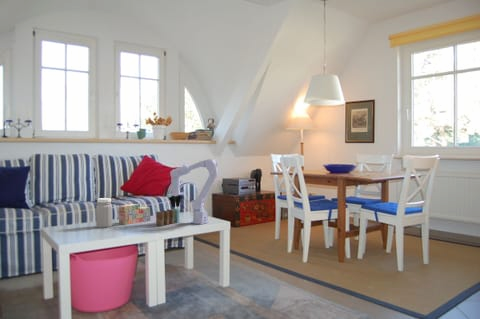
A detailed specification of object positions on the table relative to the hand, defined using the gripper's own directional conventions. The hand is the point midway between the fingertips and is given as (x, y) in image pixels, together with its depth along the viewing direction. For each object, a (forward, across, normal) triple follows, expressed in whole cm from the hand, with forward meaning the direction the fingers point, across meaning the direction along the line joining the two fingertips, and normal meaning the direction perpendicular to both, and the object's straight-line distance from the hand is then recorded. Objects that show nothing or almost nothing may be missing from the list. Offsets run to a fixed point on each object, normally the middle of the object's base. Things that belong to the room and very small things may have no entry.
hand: (175, 206), depth 264 cm
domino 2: (+10, +10, 0) cm, 14 cm away
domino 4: (+10, 0, 0) cm, 10 cm away
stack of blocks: (+11, +14, -24) cm, 30 cm away
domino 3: (+10, +5, 0) cm, 12 cm away
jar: (+11, +36, -28) cm, 47 cm away
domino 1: (+10, +15, 0) cm, 18 cm away
